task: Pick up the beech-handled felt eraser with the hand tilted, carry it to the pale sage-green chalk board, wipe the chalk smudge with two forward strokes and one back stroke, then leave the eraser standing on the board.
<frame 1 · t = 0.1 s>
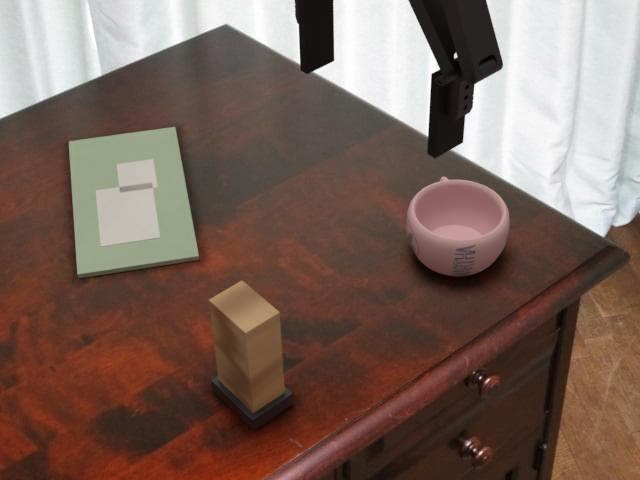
hand: (378, 105, 83), 30 cm above the dresser, tool pointing down, fingers open, 13 cm apart
mug: (452, 248, 115), on the dresser
chalk board: (130, 199, 122), on the dresser
eraser: (252, 397, 101), on the dresser
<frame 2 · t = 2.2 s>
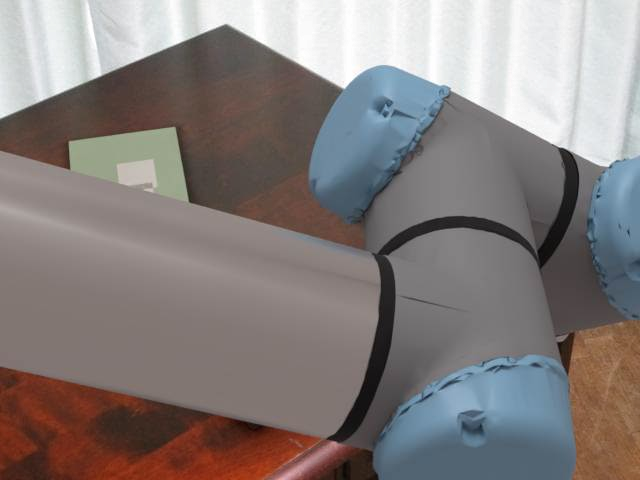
hand: (327, 339, 85), 15 cm above the dresser, tool tilted 40°, fingers open, 13 cm apart
nothing on the dresser moved.
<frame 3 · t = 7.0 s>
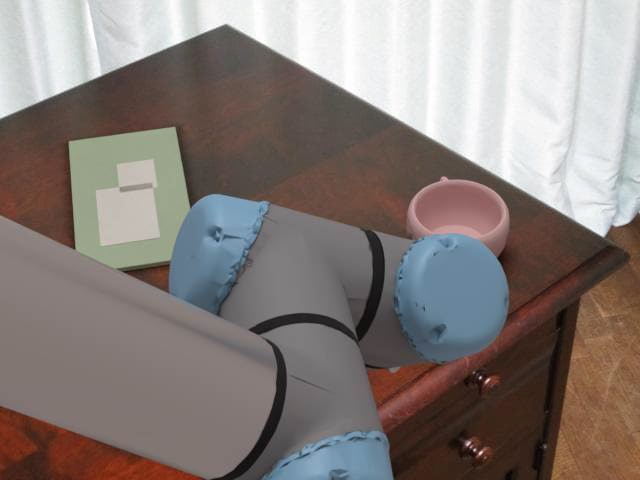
hand: (223, 349, 101), 3 cm above the dresser, tool tilted 45°, fingers closed on eraser, 3 cm apart
eraser: (252, 397, 101), on the dresser, touching gripper
everything else where it was.
when the fingers open (3 cm above the dresser, at t = 19.3 s): eraser stays where it is, resting on chalk board.
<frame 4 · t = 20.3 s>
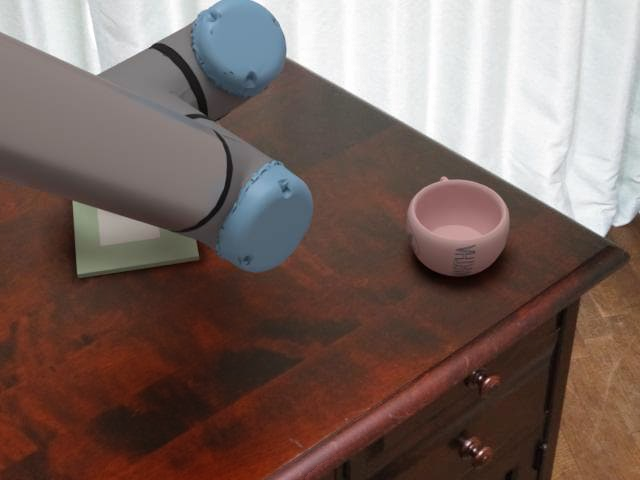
hand: (111, 152, 120), 5 cm above the dresser, tool tilted 45°, fingers open, 13 cm apart
eraser: (129, 193, 121), point 1 cm above the dresser, touching chalk board
everything else where it was.
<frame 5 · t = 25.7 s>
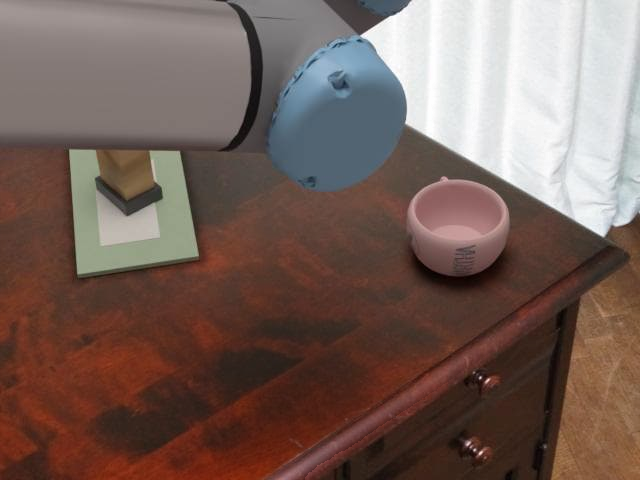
hand: (187, 102, 101), 20 cm above the dresser, tool tilted 45°, fingers open, 13 cm apart
nothing on the dresser moved.
at the end: eraser inside the target area on the chalk board (0.1 cm from its centre), point 0.7 cm above the chalk board's base; eraser moved 31.0 cm from its start; eraser tilted 0° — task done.
